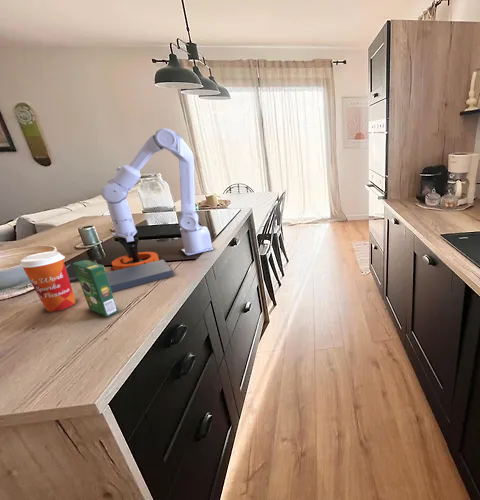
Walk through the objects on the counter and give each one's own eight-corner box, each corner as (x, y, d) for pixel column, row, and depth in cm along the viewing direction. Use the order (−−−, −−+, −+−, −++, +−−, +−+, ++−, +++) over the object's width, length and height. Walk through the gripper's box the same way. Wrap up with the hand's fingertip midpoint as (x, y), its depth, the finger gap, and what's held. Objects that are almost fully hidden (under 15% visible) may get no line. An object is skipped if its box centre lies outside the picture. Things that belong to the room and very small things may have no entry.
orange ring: (154, 254, 109) (153, 249, 108) (162, 264, 100) (161, 258, 99) (111, 263, 101) (109, 258, 100) (115, 275, 92) (114, 269, 91)
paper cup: (34, 317, 70) (10, 264, 65) (47, 302, 76) (26, 253, 71) (76, 308, 73) (56, 258, 68) (85, 295, 80) (67, 248, 75)
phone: (46, 281, 85) (68, 263, 98) (48, 285, 85) (69, 266, 98) (80, 276, 88) (97, 259, 101) (81, 280, 88) (98, 262, 101)
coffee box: (120, 311, 72) (104, 264, 67) (107, 317, 70) (89, 268, 65) (102, 304, 75) (85, 258, 71) (89, 310, 73) (71, 262, 68)
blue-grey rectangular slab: (164, 264, 100) (163, 259, 99) (173, 275, 91) (172, 270, 91) (106, 278, 90) (104, 272, 89) (110, 292, 81) (107, 286, 81)
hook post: (142, 260, 103) (137, 241, 100) (144, 263, 100) (139, 244, 98) (129, 263, 100) (123, 243, 98) (130, 267, 98) (124, 246, 95)
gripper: (105, 217, 101) (117, 253, 106) (110, 225, 91) (122, 264, 96) (130, 214, 106) (139, 248, 111) (136, 221, 96) (147, 259, 101)
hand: (133, 255), depth 104 cm, fingers closed on orange ring, 2 cm apart
